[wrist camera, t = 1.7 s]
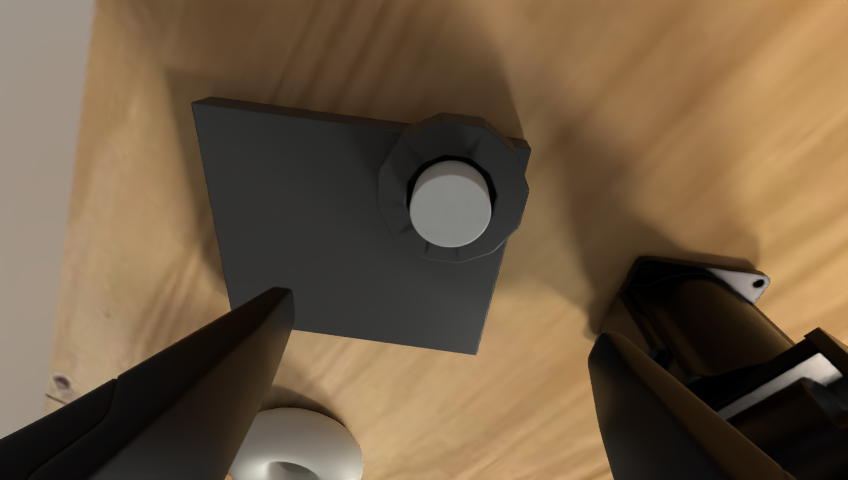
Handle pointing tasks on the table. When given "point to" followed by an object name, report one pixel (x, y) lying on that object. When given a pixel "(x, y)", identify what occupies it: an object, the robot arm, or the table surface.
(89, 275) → the table surface
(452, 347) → the scale
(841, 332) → the table surface
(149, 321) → the table surface
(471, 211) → the button
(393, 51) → the table surface
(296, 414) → the donut
